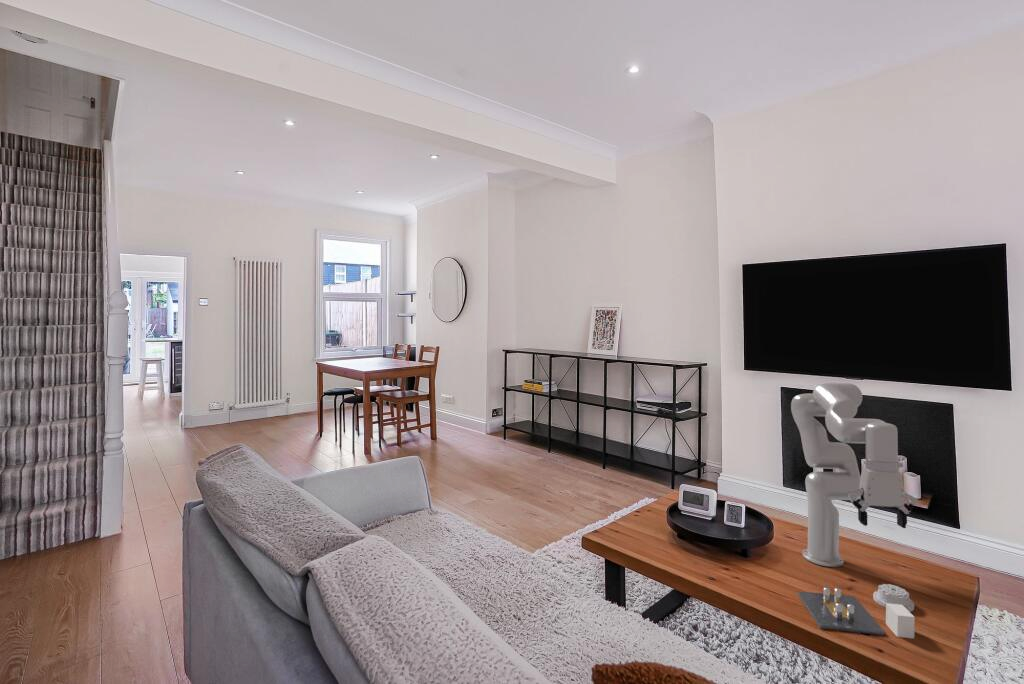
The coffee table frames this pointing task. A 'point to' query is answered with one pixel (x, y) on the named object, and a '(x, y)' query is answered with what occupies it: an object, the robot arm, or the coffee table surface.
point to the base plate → (836, 623)
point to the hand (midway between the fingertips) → (882, 525)
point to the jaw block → (900, 620)
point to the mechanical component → (893, 596)
